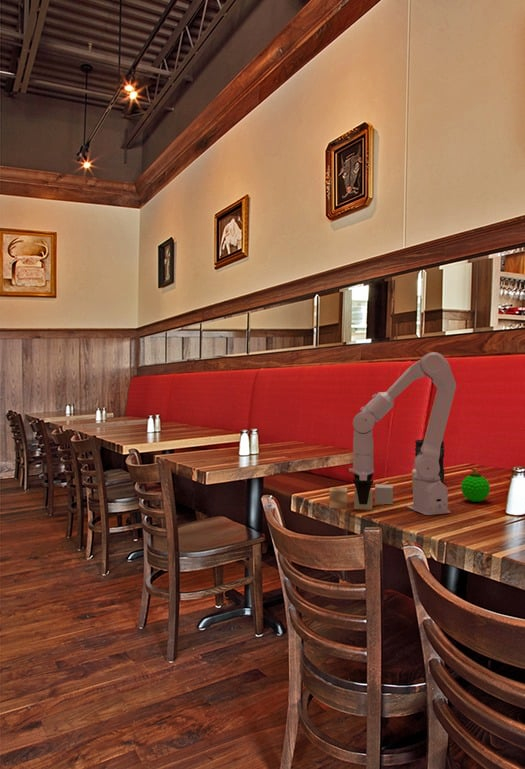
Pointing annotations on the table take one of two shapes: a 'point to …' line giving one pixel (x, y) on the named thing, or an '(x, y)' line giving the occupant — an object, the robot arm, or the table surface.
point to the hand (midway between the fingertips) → (363, 501)
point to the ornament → (475, 487)
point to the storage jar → (441, 473)
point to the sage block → (362, 506)
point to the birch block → (338, 498)
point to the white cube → (383, 494)
